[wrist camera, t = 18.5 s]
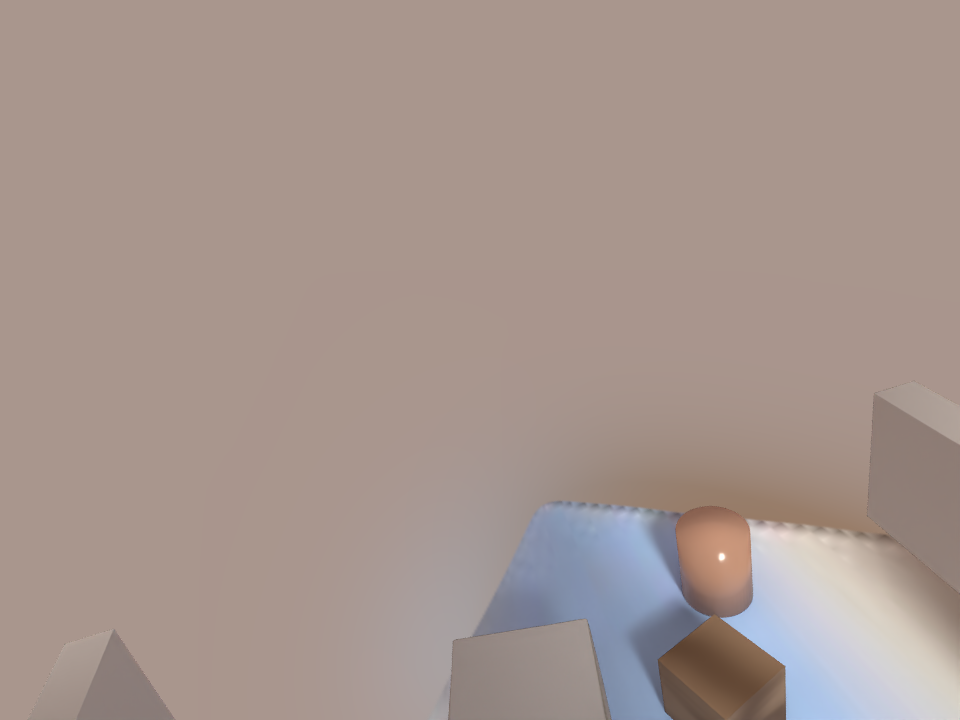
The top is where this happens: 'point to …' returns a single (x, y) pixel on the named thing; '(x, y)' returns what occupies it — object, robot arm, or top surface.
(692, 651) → the walnut block
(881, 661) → the top surface
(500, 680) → the supplement box
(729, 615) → the peach rounded cylinder
